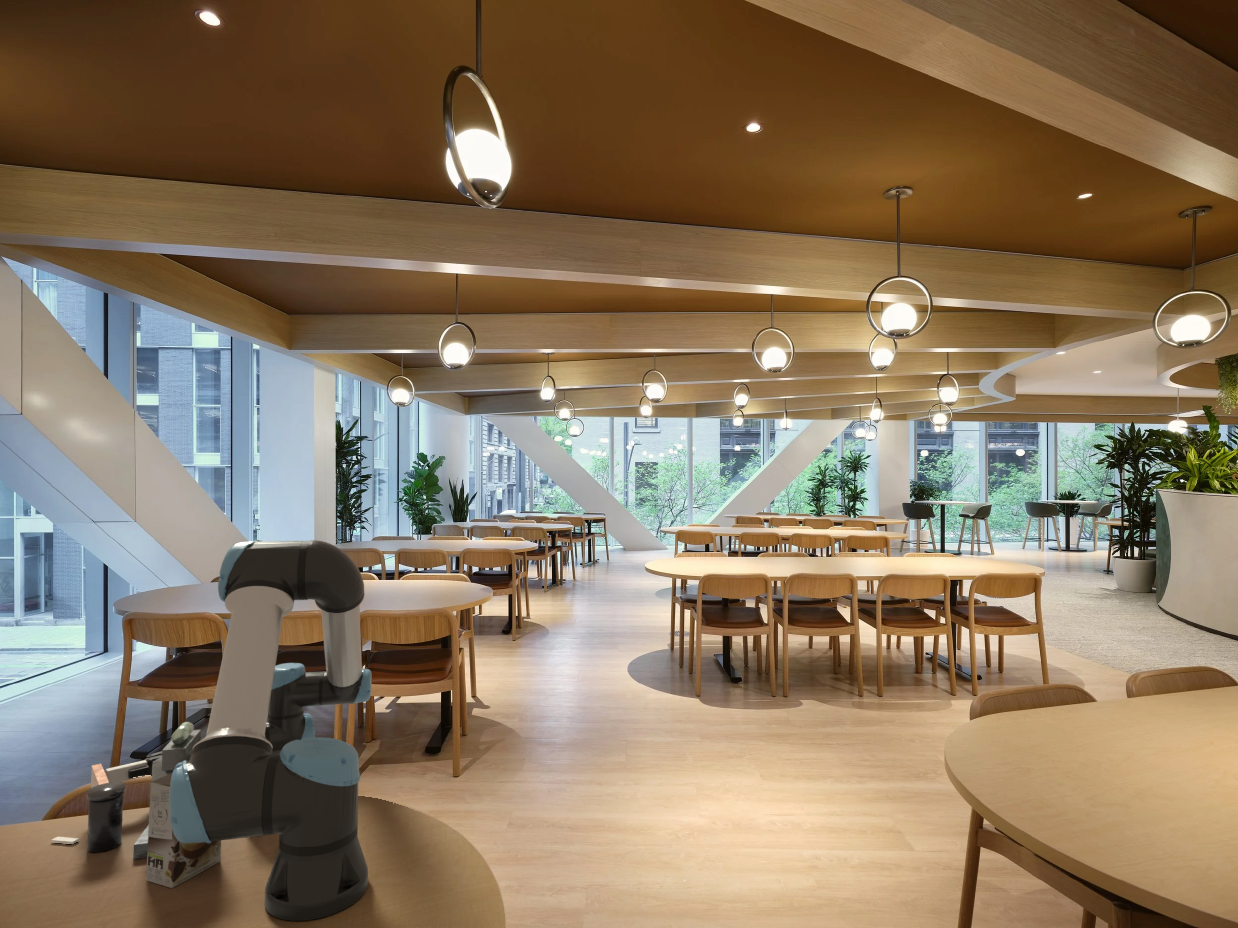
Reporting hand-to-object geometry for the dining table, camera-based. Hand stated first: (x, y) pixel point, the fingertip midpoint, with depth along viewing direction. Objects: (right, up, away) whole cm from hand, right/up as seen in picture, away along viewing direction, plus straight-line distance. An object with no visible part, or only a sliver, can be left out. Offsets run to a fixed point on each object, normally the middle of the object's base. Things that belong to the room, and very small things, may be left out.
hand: (106, 776), depth 136 cm
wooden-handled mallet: (+3, -8, -6) cm, 10 cm away
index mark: (-1, -8, -9) cm, 12 cm away
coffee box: (+26, -8, -18) cm, 33 cm away
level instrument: (+19, -8, -8) cm, 22 cm away
